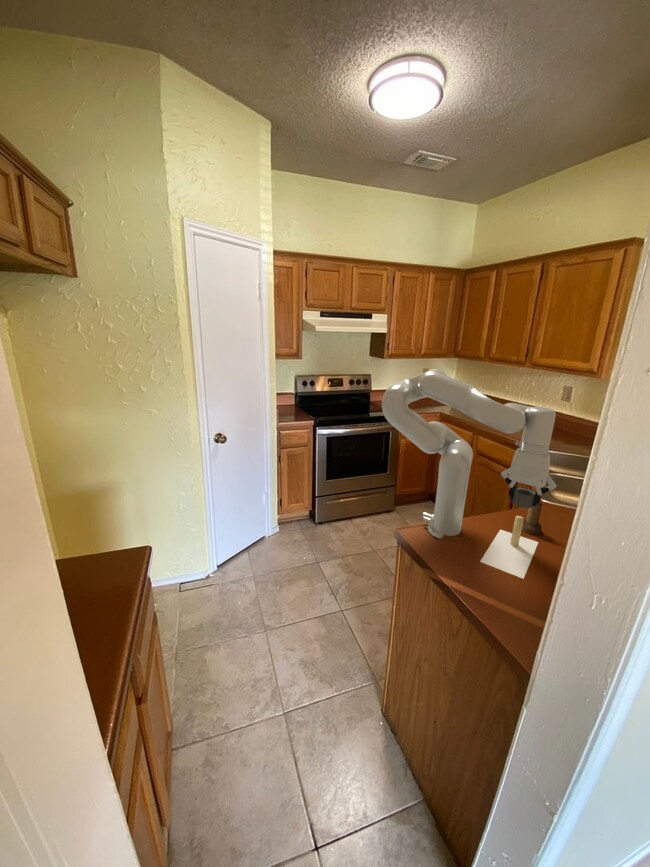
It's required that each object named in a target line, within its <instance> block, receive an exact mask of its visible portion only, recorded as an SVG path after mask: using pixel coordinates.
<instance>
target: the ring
mask: <svg viewBox="0 0 650 867" xmlns="http://www.w3.org/2000/svg"><path fill="white" fill-rule="evenodd" d="M535 494H536V492H535V491H534V490H531V489H528V488H523V487H516V489H515V490H514V494H513V499H512V500H511V503H512V504H513V505H515V506H517V507H519V508H524V509H528V508H533V502H534V497H535Z"/></svg>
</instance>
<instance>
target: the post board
mask: <svg viewBox="0 0 650 867" xmlns="http://www.w3.org/2000/svg"><path fill="white" fill-rule="evenodd" d="M524 520H525V517H523V516H521V515H515V518H514V522H513V527H512V532H509V531H506V530H503V529H499V531H498V532H497V534H496V535H495V537H494V539H493V540H492V541H491V543H490V545H489V547H488V549H487V550H486V551H485V552H484V555H483V556H482V557H481V559H480V563H483V564H484V565H487V566H490V567H493V568H494V569H497V570H499V571H502V572H505V573H507V574H510V575H512V576H516V577H517V578H520V579H525V577H526V575H527V571H528V569H529V566H530V565H531V562H532V559H533V557H534V555H535V552H536V549H537V546H538V545H539V542H538V541H536V540H533V539H530V538H527V537H524V536H521V535H522V531H523V530H522V526H523V521H524Z"/></svg>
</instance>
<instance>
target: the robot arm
mask: <svg viewBox="0 0 650 867" xmlns="http://www.w3.org/2000/svg"><path fill="white" fill-rule="evenodd" d="M425 398H430V399H432V400H434V401H437V402H439V403H441V404H444V405H446V406H448V407H450V408H454V409H456V410H457V411H460V412H462V413H463V414H464V415H467V417H468V416H469V417H470V418H472V419H473V420H475V421H478V422H480V423H481V424H484V425H485V426H488V427H491V428H493V429H495V430H497V431H500V432H503V433H506V434H516V433H518V432H520V431H522V434H521V440H515V443H514V445H515V446H518V447H519V448H516V449H515V452H514V455H513V457H512V460H511V465H510V467H509V468H507V469H504V470H503V471H502V472H500V476H501V477H502V478H503V479H504V481H505V482H506V484H507V485H508V487H509V490H508V496H509V500H510V501H512V499H513V494H514V490H515V489H516V488H517V486H516V483H518V484H523V485H526V486H531V487H533V488H534V487H536V490H537V492H535V493H536V494H535V497H534V502H533V506H534V507H535V506H536V504H539V503H540V502H541V498H542V495H543V494H546V493H548V492H549V491H552V490H555V489H556V488H557V484H556V483H555V481H554V480H553V479H552V477H551V476H550V475H549V474H550V467H551V466H550V465H551V455H550V454H549V450H550V445H551V440H552V435H553V432H554V426H555V422H556V416H557V415H556V411H555V410H554V409H552V408H549V407H544V406H530V405H525V404H521V403H516V402H507V403H502V402H498V401H495V400H493V399H491V398H490V397H488V396H486V395H484V394H483V392H481V391H480V390H479V389H478V388H477V387H475V386H473V385H472V384H468V383H466V382H463V381H460V380H459V379H455V378H453V377H451V376H448V375H447V374H446V373H445V372H444V371H443V370H441V369H439V368H433V369H429V370H427V371H425V372H422V373H420V374H417V375H415V376H412V377H409V378H406V379H403V380H401V381H399V382H396V383H393V384H392V385H390V386H389V387H388V388H387V389H386V390H385V392H384V394H383V396H382V399H381V409H382V413H383V416H384V418H385V419H386V421H387V422H388V423H390V425H391V426H392V427H393V428H395V429H396V430H397V431H398V432H400V433H401V434H403V436H404V437H406V438H407V439H408V441H409V440H410V442H411V443H413V444H414V445H415V446H416V447H418V448H419V450H421V451H422V452H424V453H426V454H429V455H431V454H432V455H433V454H437V453H438V454H439V455H441V456H440V460H439V463H438V464H439V465H438V477H437V478H438V479H437V488H436V496H435V503H434V504H435V505H434V510H433V511H434V512H433V513H432V514H430V513H429V512H425V511H424V512H423V514H422V518H423V519H422V520H423V521H424V522H428V525H427V531H428V532H429V534H430V535H431V536H433V537H434V538H436V539H438V540H441V539H442V538H443V537H444V536H447V537H448V536H450V537H453V536H457V535H459V534H460V533H461V532H462V525H463V524H462V523H463V520H464V518H463V517H464V510H465V504H466V497H467V492H468V491H467V490H468V486H469V478H470V474H471V466H472V462H473V457H474V452H473V449H472V446H471V445H470V444H469V442H467V441H466V440H464V439H463V438H462V437H461V436H460V435H458V434H457V433H456V432H455V431H453V430H452V429H451V428H450V427H449V426H447V425H446V424H445V423H443V422H440V421H436V420H432V421H427V420H426V419H424V418H423V417H422V416H421V415H420V414H418V413H417V412H415V411H414V410H412V409H411V408H410V407H409V406H408V405H410V404H411V403H412V402H416V401H418V400H421V399H425ZM547 484H548V485H547ZM546 485H547V486H546ZM543 487H544V488H543Z"/></svg>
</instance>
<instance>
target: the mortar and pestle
mask: <svg viewBox="0 0 650 867" xmlns="http://www.w3.org/2000/svg"><path fill="white" fill-rule="evenodd" d="M544 487H545V486H544ZM544 487H543V488H544ZM533 488H534V492H535V493H536V492H537V490H536V487H534V486H533ZM542 506H543V502H542V501H540V503H539V504H536V506H535V507H534V506H533V508H527V513H526V518H524V521H523V526H522V530H521V531H523V532H525V533H526V532H527V533H526V534H529V535H536V534H537V535H540V534H541V532H542V528H543V527H542V525H541V524H540V522H539V520H540V516H541V511H542V508H543V507H542ZM537 535H536V536H537Z"/></svg>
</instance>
